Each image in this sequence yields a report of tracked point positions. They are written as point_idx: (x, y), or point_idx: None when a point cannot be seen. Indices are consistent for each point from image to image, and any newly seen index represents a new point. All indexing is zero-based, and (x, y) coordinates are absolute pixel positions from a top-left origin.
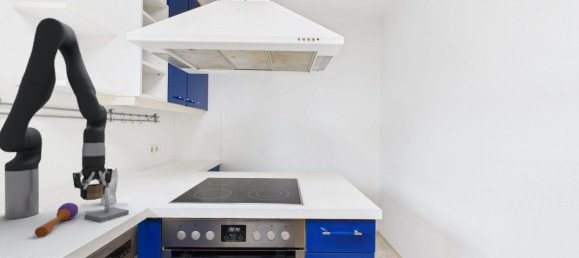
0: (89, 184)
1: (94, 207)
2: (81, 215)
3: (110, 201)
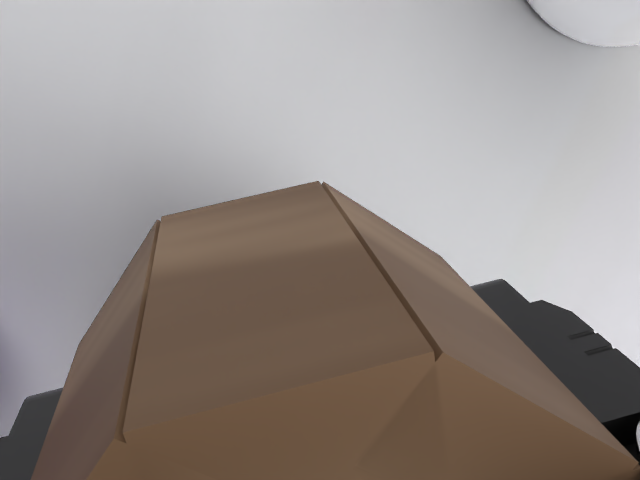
0: (312, 393)
1: (363, 3)
2: (75, 331)
3: (626, 41)
